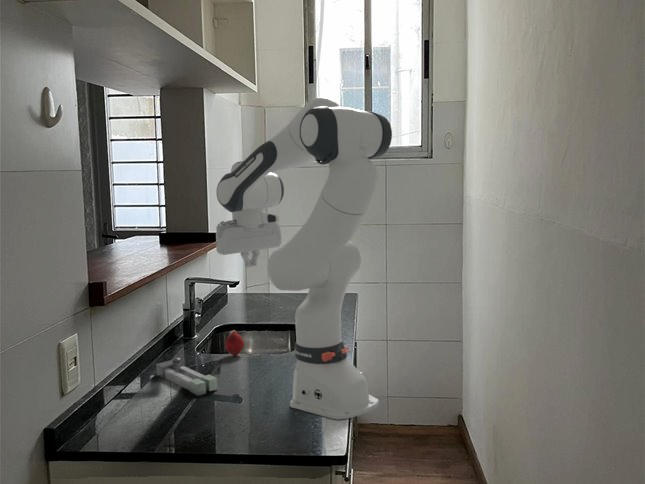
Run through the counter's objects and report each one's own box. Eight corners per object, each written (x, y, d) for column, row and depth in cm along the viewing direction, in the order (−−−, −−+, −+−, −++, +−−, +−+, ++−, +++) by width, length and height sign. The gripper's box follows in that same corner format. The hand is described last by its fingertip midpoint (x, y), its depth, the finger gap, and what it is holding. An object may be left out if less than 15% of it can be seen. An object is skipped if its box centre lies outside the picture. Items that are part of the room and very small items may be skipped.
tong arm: (171, 373, 184) (170, 358, 183) (179, 371, 185) (178, 356, 185) (209, 391, 168) (208, 375, 167) (217, 389, 169) (216, 373, 169)
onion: (241, 359, 195) (239, 333, 194) (223, 358, 196) (221, 332, 195) (247, 353, 200) (245, 328, 199) (229, 352, 202) (227, 327, 201)
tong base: (218, 389, 169) (218, 377, 169) (197, 395, 165) (196, 383, 165) (176, 369, 187) (175, 359, 187) (156, 374, 183) (156, 364, 183)
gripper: (222, 222, 174) (225, 272, 176) (283, 215, 187) (285, 262, 189) (210, 221, 179) (213, 270, 181) (270, 214, 192) (273, 260, 194)
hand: (250, 266), depth 185 cm, fingers closed
